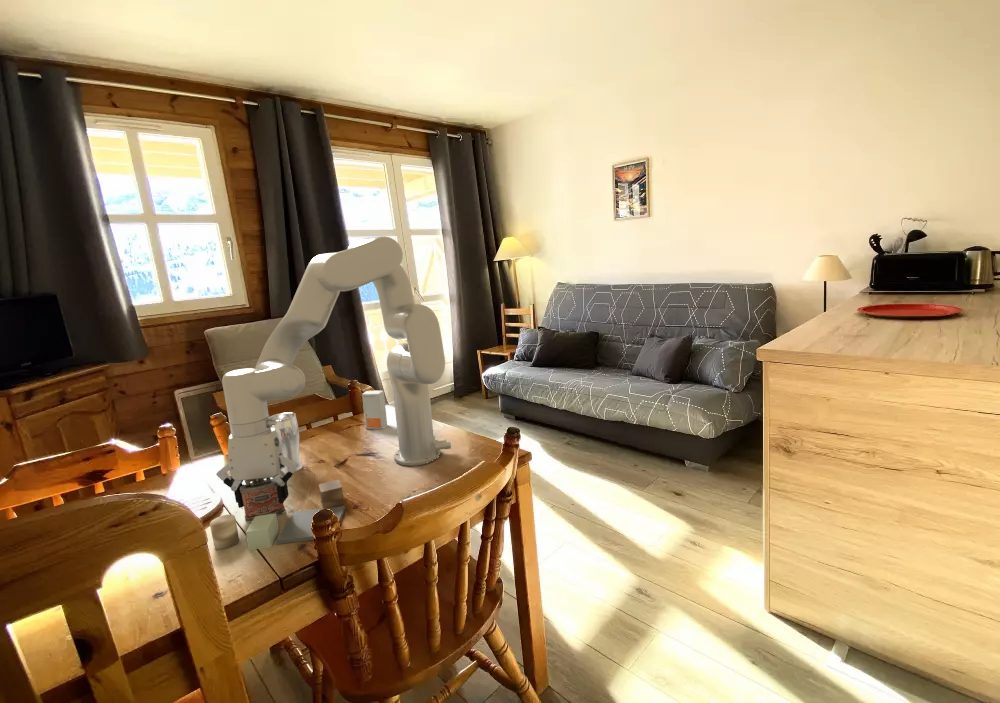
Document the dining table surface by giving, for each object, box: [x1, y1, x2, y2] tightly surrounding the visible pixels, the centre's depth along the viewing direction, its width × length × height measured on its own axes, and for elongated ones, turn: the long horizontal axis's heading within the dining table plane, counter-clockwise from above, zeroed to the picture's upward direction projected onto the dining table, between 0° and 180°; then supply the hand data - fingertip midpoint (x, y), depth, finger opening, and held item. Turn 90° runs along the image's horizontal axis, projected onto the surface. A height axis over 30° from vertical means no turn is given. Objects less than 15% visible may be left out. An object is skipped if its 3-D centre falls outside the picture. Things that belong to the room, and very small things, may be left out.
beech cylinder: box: [209, 514, 240, 551], centre depth 97 cm, size 4×4×5 cm
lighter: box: [240, 478, 286, 523], centre depth 106 cm, size 8×3×10 cm, turn 114°
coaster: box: [275, 505, 346, 545], centre depth 102 cm, size 11×11×1 cm
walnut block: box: [318, 479, 345, 509], centre depth 110 cm, size 4×4×4 cm
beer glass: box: [270, 411, 303, 474], centre depth 129 cm, size 7×7×15 cm
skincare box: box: [361, 389, 388, 430], centre depth 158 cm, size 6×4×12 cm
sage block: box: [245, 513, 280, 551], centre depth 97 cm, size 4×6×4 cm
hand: (263, 502), depth 107 cm, fingers closed on lighter, 8 cm apart
